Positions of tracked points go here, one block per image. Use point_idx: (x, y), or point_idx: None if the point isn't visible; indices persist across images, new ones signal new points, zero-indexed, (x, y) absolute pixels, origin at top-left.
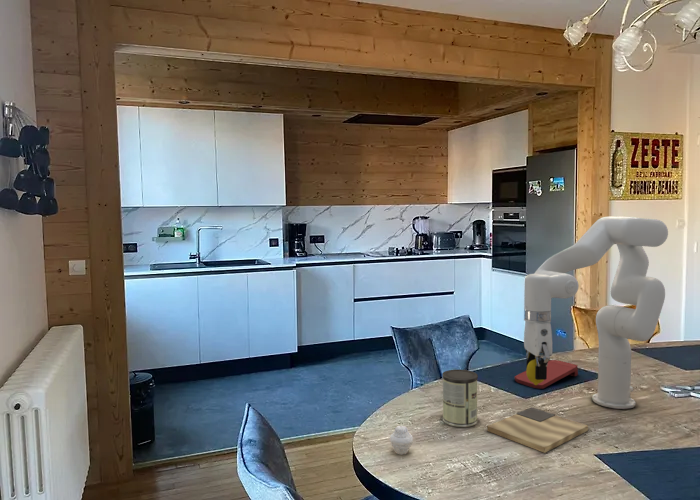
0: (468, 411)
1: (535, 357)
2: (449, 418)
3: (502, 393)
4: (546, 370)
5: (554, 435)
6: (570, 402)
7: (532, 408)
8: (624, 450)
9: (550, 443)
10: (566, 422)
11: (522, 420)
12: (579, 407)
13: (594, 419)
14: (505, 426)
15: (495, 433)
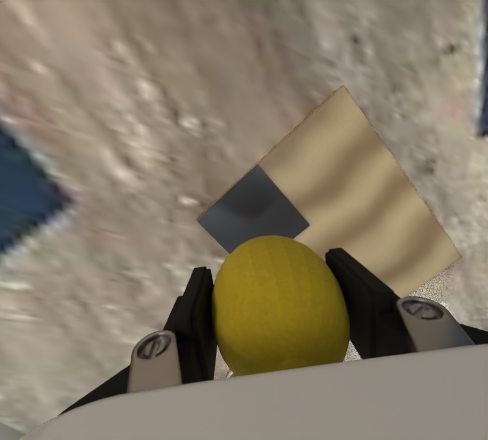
0: None
1: (179, 354)
2: None
3: (39, 261)
4: (370, 273)
5: (402, 213)
6: (81, 49)
7: (207, 220)
8: (476, 33)
9: (445, 237)
10: (315, 147)
11: None
12: (131, 32)
13: (244, 23)
14: None
15: None
